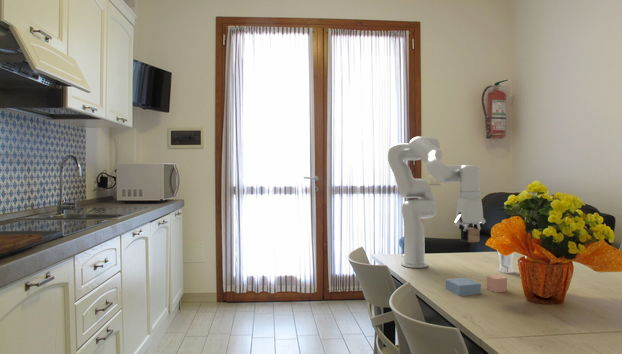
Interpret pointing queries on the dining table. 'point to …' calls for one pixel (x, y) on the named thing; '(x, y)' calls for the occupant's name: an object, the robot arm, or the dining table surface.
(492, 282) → the pink cube
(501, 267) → the beer glass
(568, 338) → the dining table surface
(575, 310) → the dining table surface
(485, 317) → the dining table surface
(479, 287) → the base block
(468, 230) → the walnut cube
